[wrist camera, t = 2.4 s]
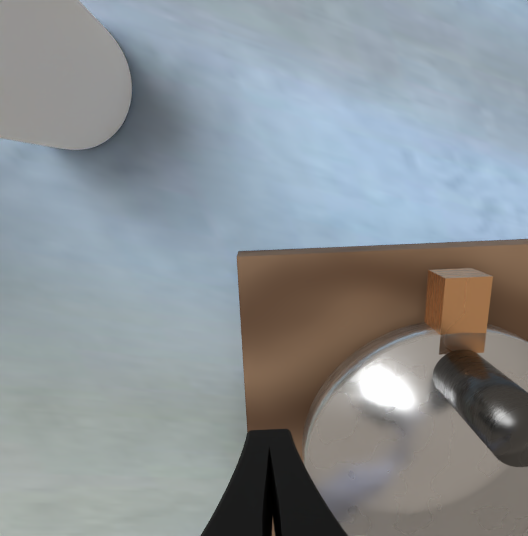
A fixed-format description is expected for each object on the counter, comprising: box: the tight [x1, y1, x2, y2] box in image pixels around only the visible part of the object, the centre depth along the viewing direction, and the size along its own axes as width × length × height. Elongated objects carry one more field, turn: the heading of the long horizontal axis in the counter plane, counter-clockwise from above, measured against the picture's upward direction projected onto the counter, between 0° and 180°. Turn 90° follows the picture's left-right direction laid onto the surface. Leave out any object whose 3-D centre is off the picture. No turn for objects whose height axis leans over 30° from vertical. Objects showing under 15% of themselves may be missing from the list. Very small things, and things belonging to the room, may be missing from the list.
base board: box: [237, 239, 528, 536], centre depth 19 cm, size 20×20×6 cm
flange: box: [302, 268, 528, 536], centre depth 15 cm, size 16×14×6 cm
